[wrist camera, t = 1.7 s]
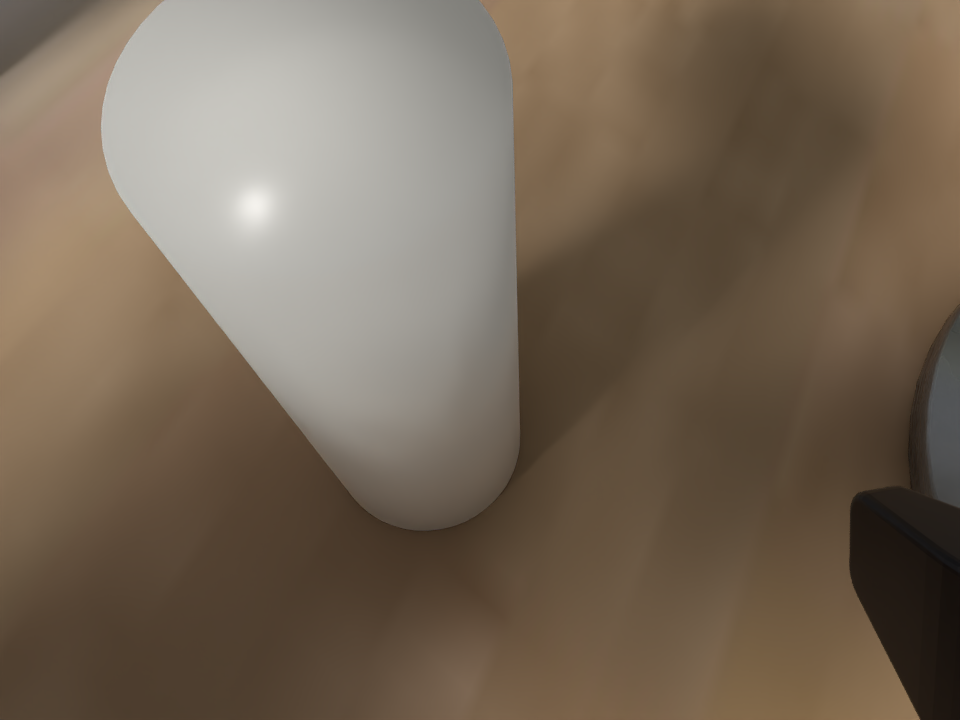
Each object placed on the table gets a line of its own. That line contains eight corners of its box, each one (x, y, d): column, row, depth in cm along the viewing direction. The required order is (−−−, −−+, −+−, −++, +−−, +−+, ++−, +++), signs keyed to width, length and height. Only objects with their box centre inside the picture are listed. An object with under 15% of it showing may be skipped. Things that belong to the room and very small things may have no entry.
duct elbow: (536, 512, 20) (548, 237, 9) (344, 546, 20) (101, 313, 9) (482, 233, 23) (438, -258, 12) (314, 261, 23) (99, -203, 11)
